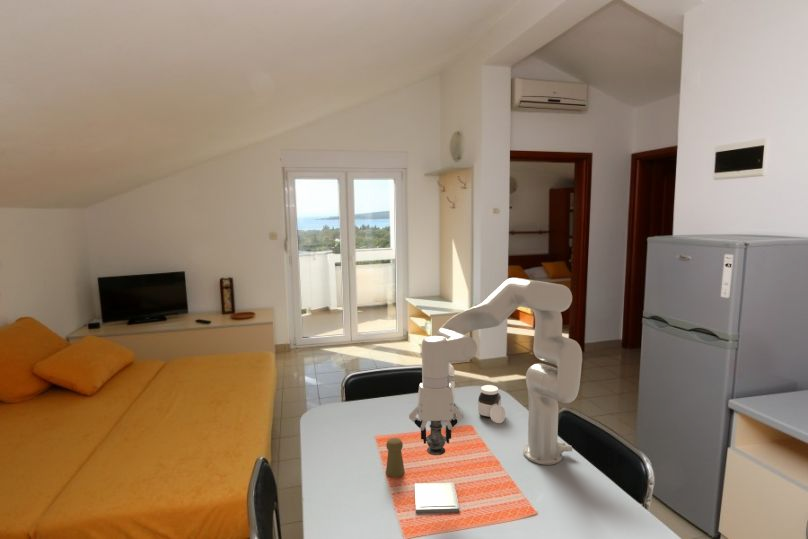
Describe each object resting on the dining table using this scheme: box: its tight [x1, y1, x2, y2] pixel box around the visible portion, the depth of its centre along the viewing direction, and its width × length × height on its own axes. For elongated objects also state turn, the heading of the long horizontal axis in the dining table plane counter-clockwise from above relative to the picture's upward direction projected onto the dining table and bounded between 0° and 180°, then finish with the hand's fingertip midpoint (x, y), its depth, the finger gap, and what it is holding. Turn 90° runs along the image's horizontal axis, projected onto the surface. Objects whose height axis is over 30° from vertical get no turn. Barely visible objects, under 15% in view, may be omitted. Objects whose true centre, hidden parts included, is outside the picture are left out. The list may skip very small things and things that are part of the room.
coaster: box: [414, 482, 460, 514], centre depth 130 cm, size 12×12×1 cm
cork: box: [385, 437, 405, 479], centre depth 143 cm, size 6×6×11 cm
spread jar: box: [477, 384, 507, 424], centre depth 180 cm, size 12×11×12 cm
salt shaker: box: [426, 421, 447, 456], centre depth 128 cm, size 6×6×12 cm
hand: (436, 440), depth 128 cm, fingers closed on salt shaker, 5 cm apart
